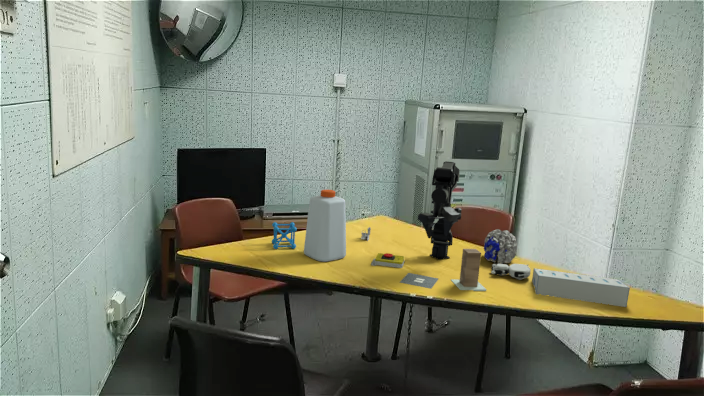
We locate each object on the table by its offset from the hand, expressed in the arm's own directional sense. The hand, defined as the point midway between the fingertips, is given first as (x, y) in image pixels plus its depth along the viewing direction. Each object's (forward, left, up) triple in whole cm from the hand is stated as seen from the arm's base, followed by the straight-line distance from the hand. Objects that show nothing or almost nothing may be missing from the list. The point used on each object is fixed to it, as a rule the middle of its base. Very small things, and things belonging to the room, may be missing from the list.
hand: (437, 237), depth 199 cm
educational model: (-34, +4, -13) cm, 37 cm away
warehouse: (-31, +44, -14) cm, 55 cm away
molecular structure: (+44, -50, -13) cm, 68 cm away
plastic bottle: (+34, -31, -13) cm, 48 cm away
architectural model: (+8, -44, -14) cm, 47 cm away
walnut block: (+2, +21, -12) cm, 24 cm away
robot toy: (-22, +20, -13) cm, 33 cm away
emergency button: (+14, -11, -14) cm, 23 cm away
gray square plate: (+16, +9, -13) cm, 23 cm away
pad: (+2, +21, -13) cm, 25 cm away
